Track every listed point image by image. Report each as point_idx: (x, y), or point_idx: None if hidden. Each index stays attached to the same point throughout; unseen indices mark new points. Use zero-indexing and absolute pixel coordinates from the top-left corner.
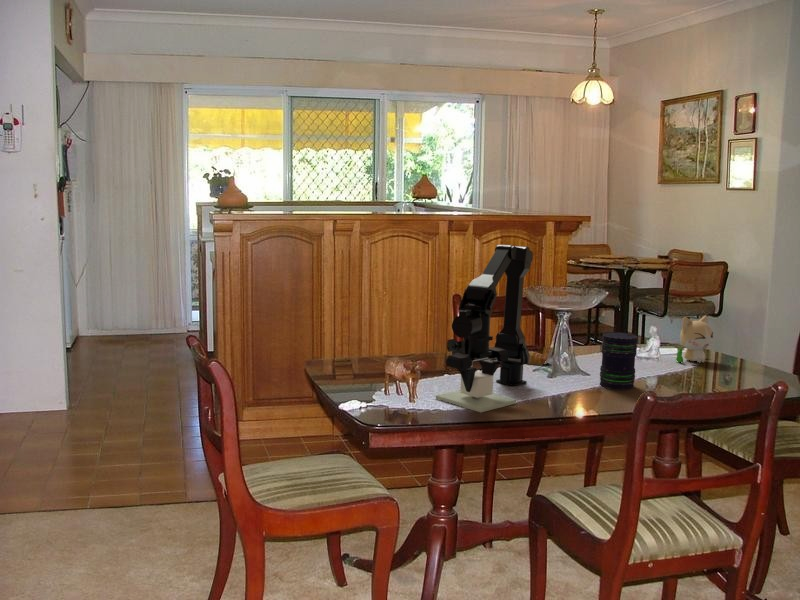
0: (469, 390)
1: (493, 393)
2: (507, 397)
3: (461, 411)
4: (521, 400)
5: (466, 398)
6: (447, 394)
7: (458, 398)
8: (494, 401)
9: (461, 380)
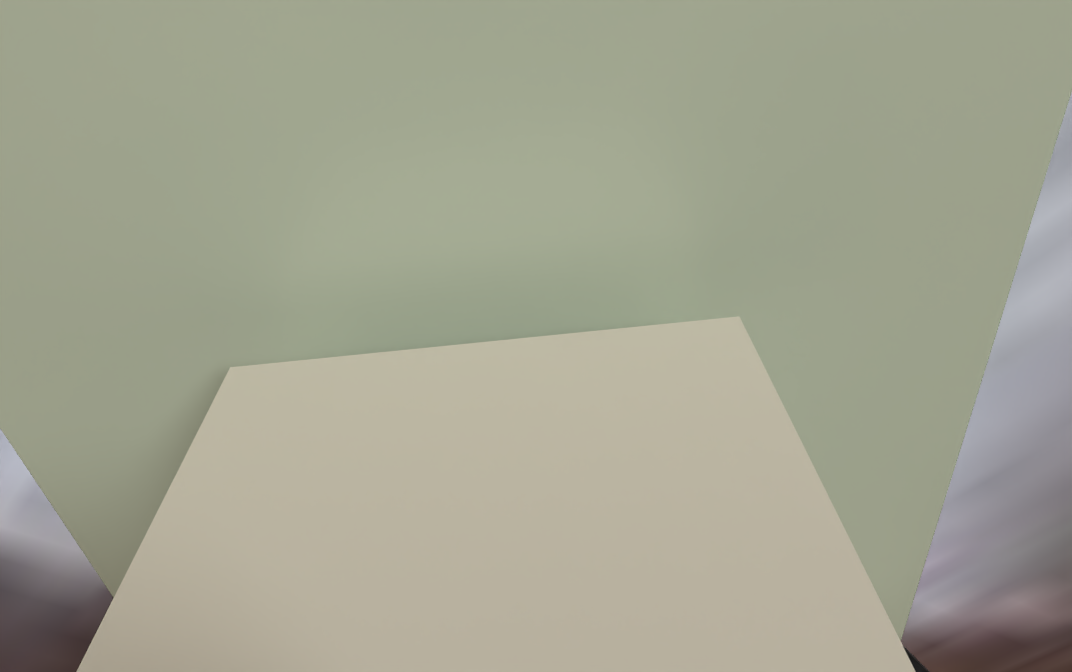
0: None
1: (959, 422)
2: (893, 623)
3: (25, 629)
4: (1030, 614)
5: None
6: (45, 18)
7: (161, 380)
8: None
9: (111, 642)
